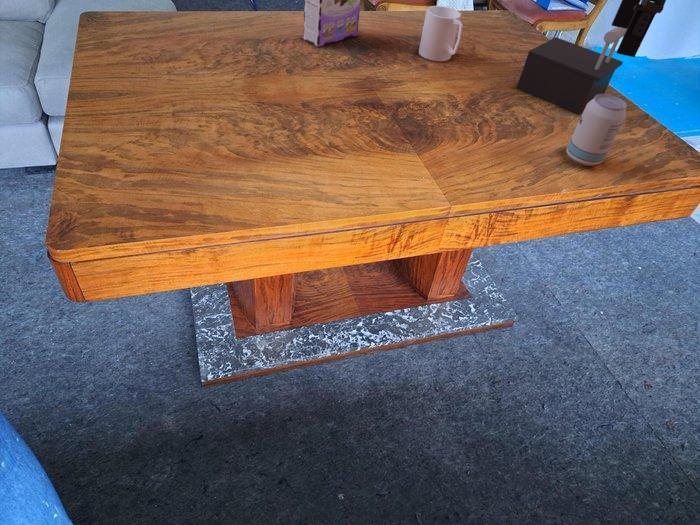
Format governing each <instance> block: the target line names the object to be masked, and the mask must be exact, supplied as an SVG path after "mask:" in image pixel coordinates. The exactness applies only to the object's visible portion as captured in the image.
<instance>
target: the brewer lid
mask: <svg viewBox="0 0 700 525" xmlns="http://www.w3.org/2000/svg"><path fill="white" fill-rule="evenodd" d="M626 30H627V29H626V28H621V27H616V26H615V27H614V28H612V29H610V30H609V31H606V33H605V34H604V36H603V42H604V43H605V44H604V46H603V49H602V50H601V52H598V51H595V50H593V49H589V48H587V47H584V46H581V45H578V44H575V43H572V42H570V41H567V40H565V39H563V38H560V37H556V36H555V37H553V38H551V39H550V40H548V41H546V42H544V43H542V44H539V45H537V46H536V47H534V48H532V49H529V51H528V54H529V55H531V56H534V57H536V58H539V59H541V60H544V61H547V62H549V63H552V64H554V65H557V66H559V67H562V68H565V69H567V70H570V71H572V72H575V73H577V74H580V75H582V76H585V77H588V78H590V79H593V80H595V81H600V80H601V79H602V78H604V77H605V76H607V75H608V74H610V73H611V72H612V71H614V70H615V71H616V70H617V69H618V68H620V67H621V66H622V65H623V63H624V61H622V60H620V59H617V58H614V57H613V55H614V53H615V50H616V48H617V46H618V44H619V41H620V39H623V37H624V34H625V32H626ZM610 45H612V46H611V48H610V50H609V47H610ZM608 50H609V52H608ZM607 52H608V55H606V54H607ZM528 54H527V55H528ZM615 71H614V72H615Z"/></svg>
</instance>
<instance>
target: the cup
mask: <svg viewBox="0 0 700 525" xmlns="http://www.w3.org/2000/svg"><path fill="white" fill-rule="evenodd" d="M461 16H462V14H461V12H460V11H458V10H457V9H455V8H453V7H449V6H443V5H431V6H428V7H427V8H426V11H425V16H424V21H423V27H422V32H421V37H420V43H419V47H418V54H419V56H421V57H422V58H424V59H425V60H428V61H429V60H430V61H434V62H446V61H450V59H451V58H452V56H454V55H455V54H457V53H458V49H459V47H460V44H461V42H462V36H463V28H464V25H463V22H461V21H460V19H461ZM456 37H457V39H456ZM455 42H456V43H455Z"/></svg>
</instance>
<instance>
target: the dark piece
mask: <svg viewBox="0 0 700 525" xmlns="http://www.w3.org/2000/svg"><path fill="white" fill-rule="evenodd" d="M615 72H616V69H615V70H614V71H612V72H611V73H610V74H608V75H607V76H605V77H604V78H602V79H601V80H600V81H595V80H593V79H590V78H588V77H585V76H582V75H580V74H577V73H575V72H572V71H570V70H567V69H565V68H562V67H559V66H557V65H554V64H552V63H549V62H547V61H544V60H541V59H539V58H536V57H534V56H531V55H529V54H527V56H526V59H525V62H524V65H523V68H522V71H521V73H520V77H519V80H518V82H517V85H516V89H518V90H520V91H523V92H525V93H528V94H529V95H532V96H535V97H537V98H539V99H542V100H544V101H546V102H548V103H551V104H554V105H555V106H557V107H560V108H562V109H564V110H567V111H570V112H571V113H575V114H577V115H581V114H583V112H584V109H585V107H586V105H587V103H588V102H590V101H591V100H592V99H594V97H595V96H596V95H597V94H606V90H607V88H608V86H609V84H610V82H611V80H612V78H613V76H614V73H615Z"/></svg>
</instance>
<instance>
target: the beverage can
mask: <svg viewBox="0 0 700 525" xmlns="http://www.w3.org/2000/svg"><path fill="white" fill-rule="evenodd" d="M627 107H628V104H627V102H625V100H623V99H622V98H620V97H618V96H615V95H613V94H609V93H604V94H597V95H596V96H595V97H594V99H592V100H591V101H590V102H588V103H587V105H586V107H585V109H584V111H583V112H582V113H581V116H580V118H579V120H578V121H577V122H578V123H577V125H576V127H575V129H574V131H573V134H572V136H571V138H570V140H569V142H568V144H567V147H566V150H565V151H566V154H567V156H568V157H569V159H570V160H571V161H572V162H574V163H575V164H577V165H580V166H584V167H591V166H592V167H593V166H597V165H600V164H602V163H603V161H604V159H605V157H606V155H607V154H608V152H609V150H610V148H611V146H612V144H613V142H614V140H615V138H616V137H617V135H618V133H619V131H620V130H621V127H622V125H623V123H624V121H625V119H626V117H627Z"/></svg>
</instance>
